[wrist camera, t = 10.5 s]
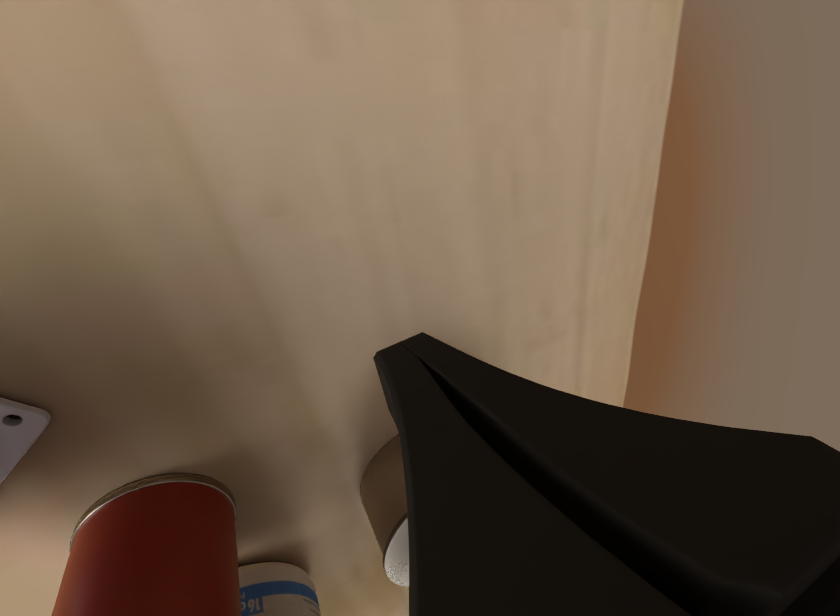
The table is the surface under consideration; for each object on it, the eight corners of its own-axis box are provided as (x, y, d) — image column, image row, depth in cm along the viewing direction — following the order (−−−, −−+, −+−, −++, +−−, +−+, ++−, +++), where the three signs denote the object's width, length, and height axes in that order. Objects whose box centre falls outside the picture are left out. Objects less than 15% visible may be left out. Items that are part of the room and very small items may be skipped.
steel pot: (326, 503, 24) (353, 590, 20) (429, 393, 24) (477, 457, 20) (416, 530, 30) (451, 601, 26) (499, 441, 30) (549, 499, 25)
